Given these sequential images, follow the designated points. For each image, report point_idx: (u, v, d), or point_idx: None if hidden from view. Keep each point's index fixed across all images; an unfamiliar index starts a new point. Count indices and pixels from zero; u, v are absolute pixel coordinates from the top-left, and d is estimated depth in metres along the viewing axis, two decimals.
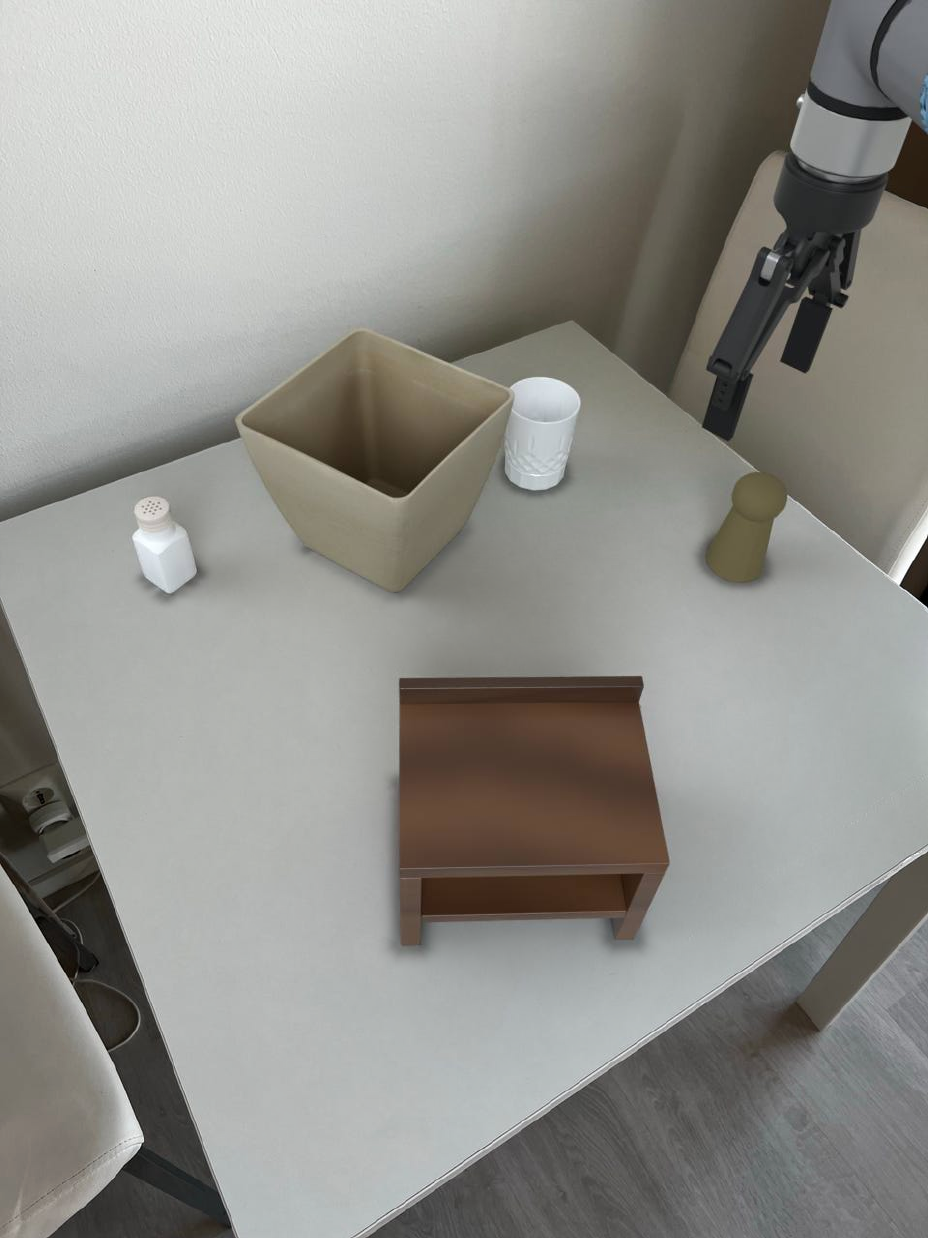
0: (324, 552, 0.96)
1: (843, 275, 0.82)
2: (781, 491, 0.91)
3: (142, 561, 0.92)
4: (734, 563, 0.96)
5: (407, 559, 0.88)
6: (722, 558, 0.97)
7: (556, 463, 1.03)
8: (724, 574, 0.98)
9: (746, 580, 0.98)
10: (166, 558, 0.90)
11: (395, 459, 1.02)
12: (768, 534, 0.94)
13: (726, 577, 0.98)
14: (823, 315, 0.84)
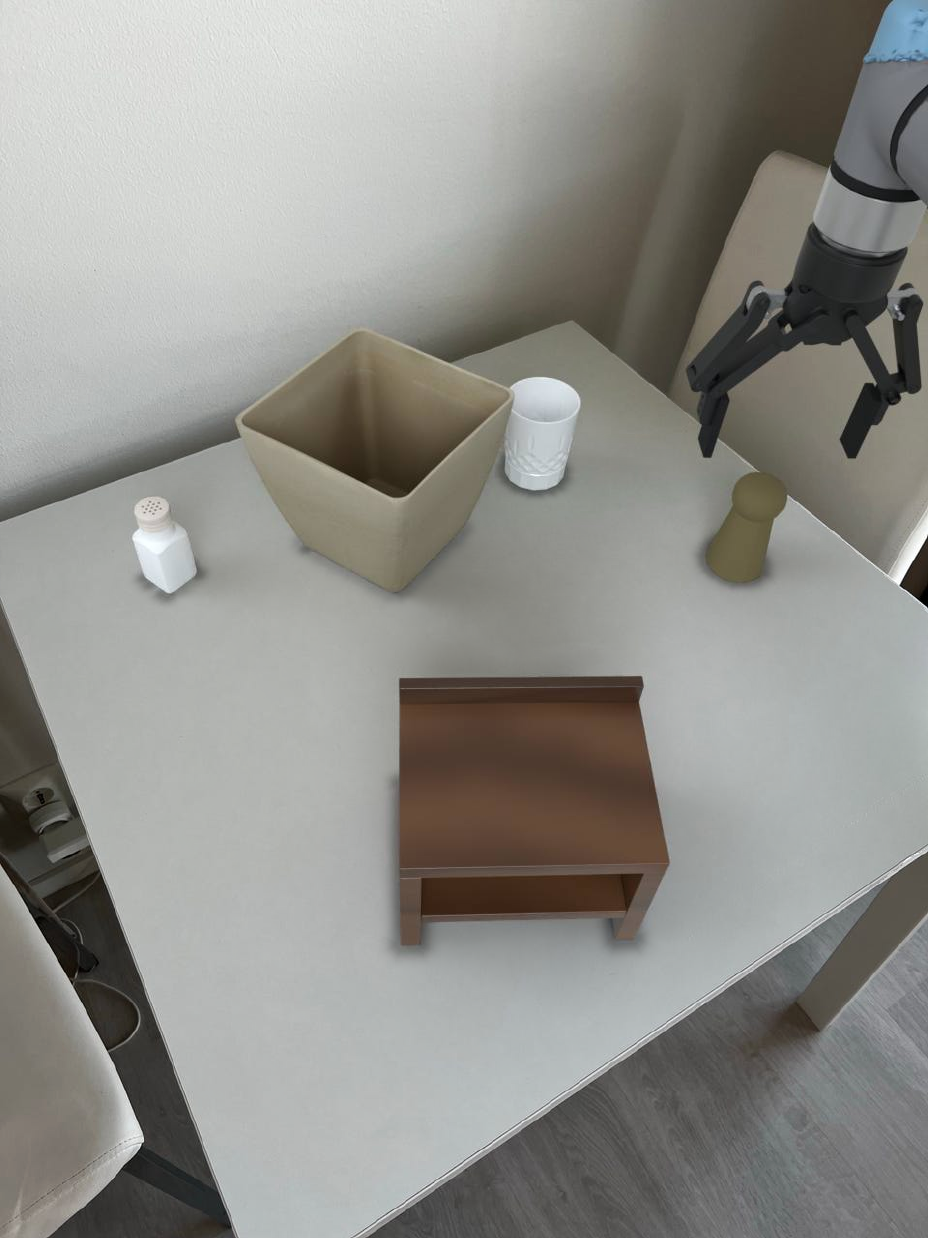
0: (324, 552, 0.96)
1: (904, 374, 0.81)
2: (781, 491, 0.91)
3: (142, 561, 0.92)
4: (734, 563, 0.96)
5: (407, 559, 0.88)
6: (722, 558, 0.97)
7: (556, 463, 1.03)
8: (724, 574, 0.98)
9: (746, 580, 0.98)
10: (166, 558, 0.90)
11: (395, 459, 1.02)
12: (768, 534, 0.94)
13: (726, 577, 0.98)
14: (870, 404, 0.83)
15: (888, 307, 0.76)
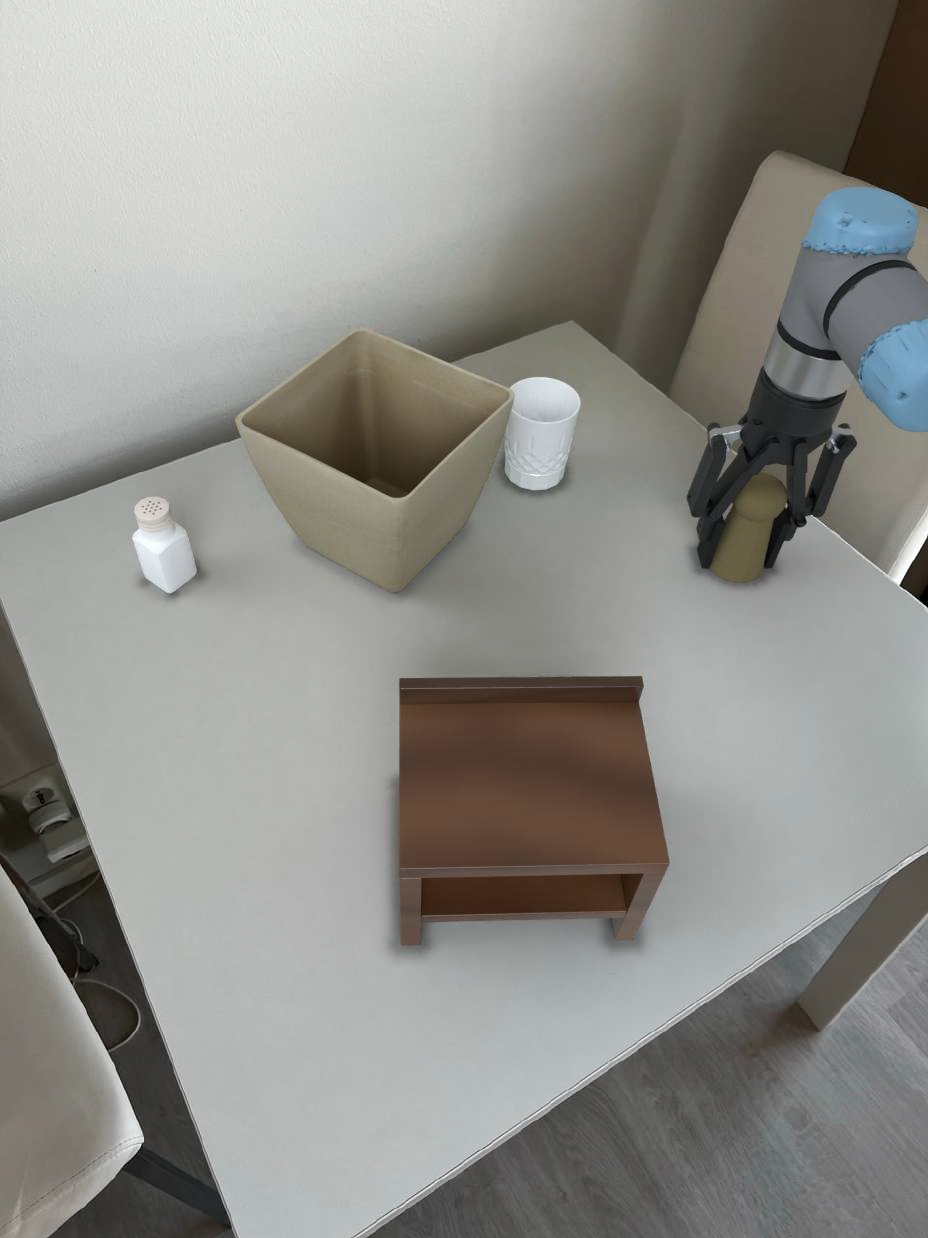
0: (324, 552, 0.96)
1: (815, 499, 0.92)
2: (781, 491, 0.91)
3: (142, 561, 0.92)
4: (734, 563, 0.96)
5: (407, 559, 0.88)
6: (722, 558, 0.97)
7: (556, 463, 1.03)
8: (724, 574, 0.98)
9: (746, 580, 0.98)
10: (166, 558, 0.90)
11: (395, 459, 1.02)
12: (768, 534, 0.94)
13: (726, 577, 0.98)
14: (781, 525, 0.94)
15: (828, 439, 0.87)
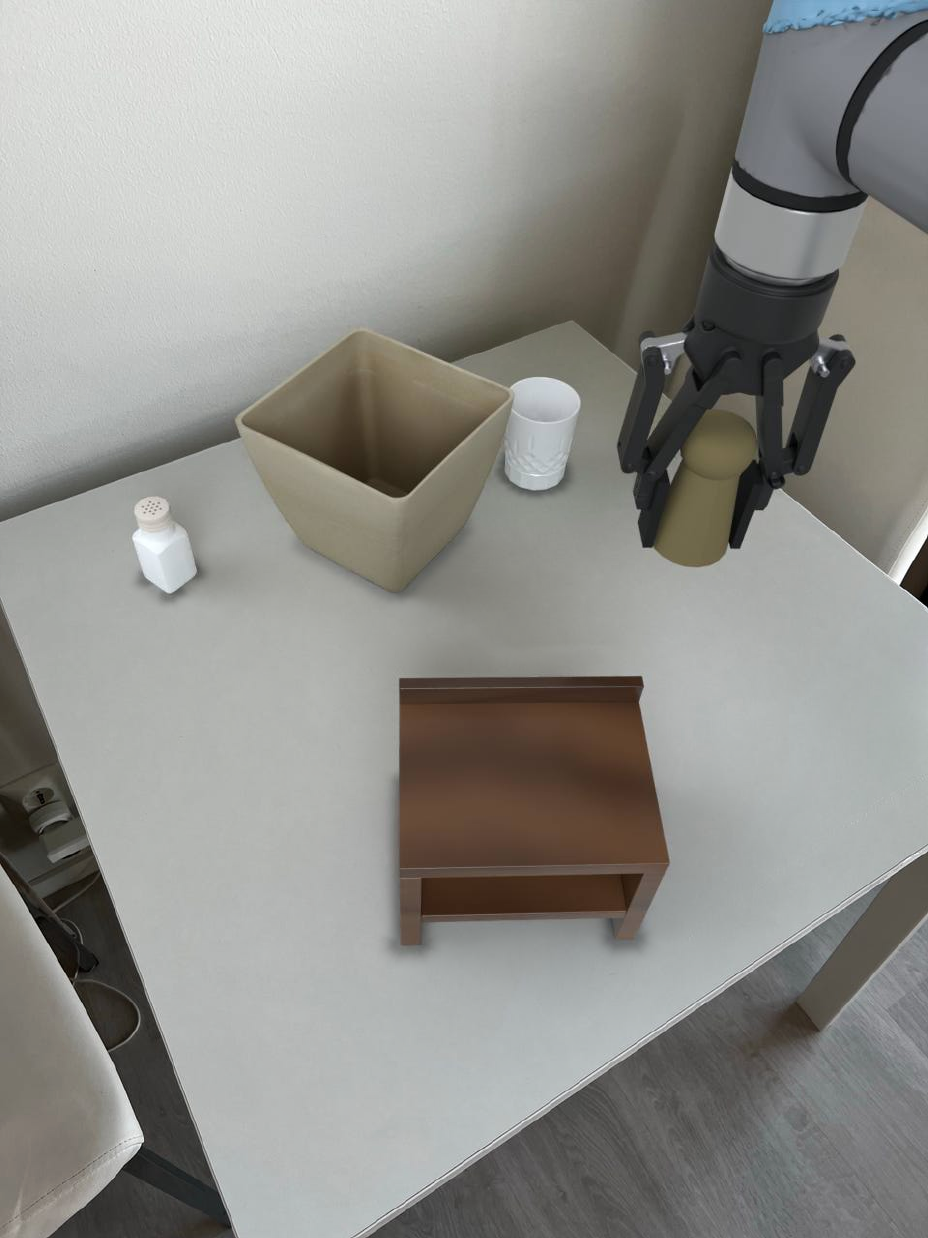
0: (324, 552, 0.96)
1: (797, 448, 0.65)
2: (747, 435, 0.64)
3: (142, 561, 0.92)
4: (686, 539, 0.69)
5: (407, 559, 0.88)
6: (669, 533, 0.70)
7: (556, 463, 1.03)
8: (672, 556, 0.71)
9: (703, 564, 0.71)
10: (166, 558, 0.90)
11: (395, 459, 1.02)
12: (731, 498, 0.67)
13: (675, 559, 0.71)
14: (750, 486, 0.67)
15: (814, 355, 0.60)
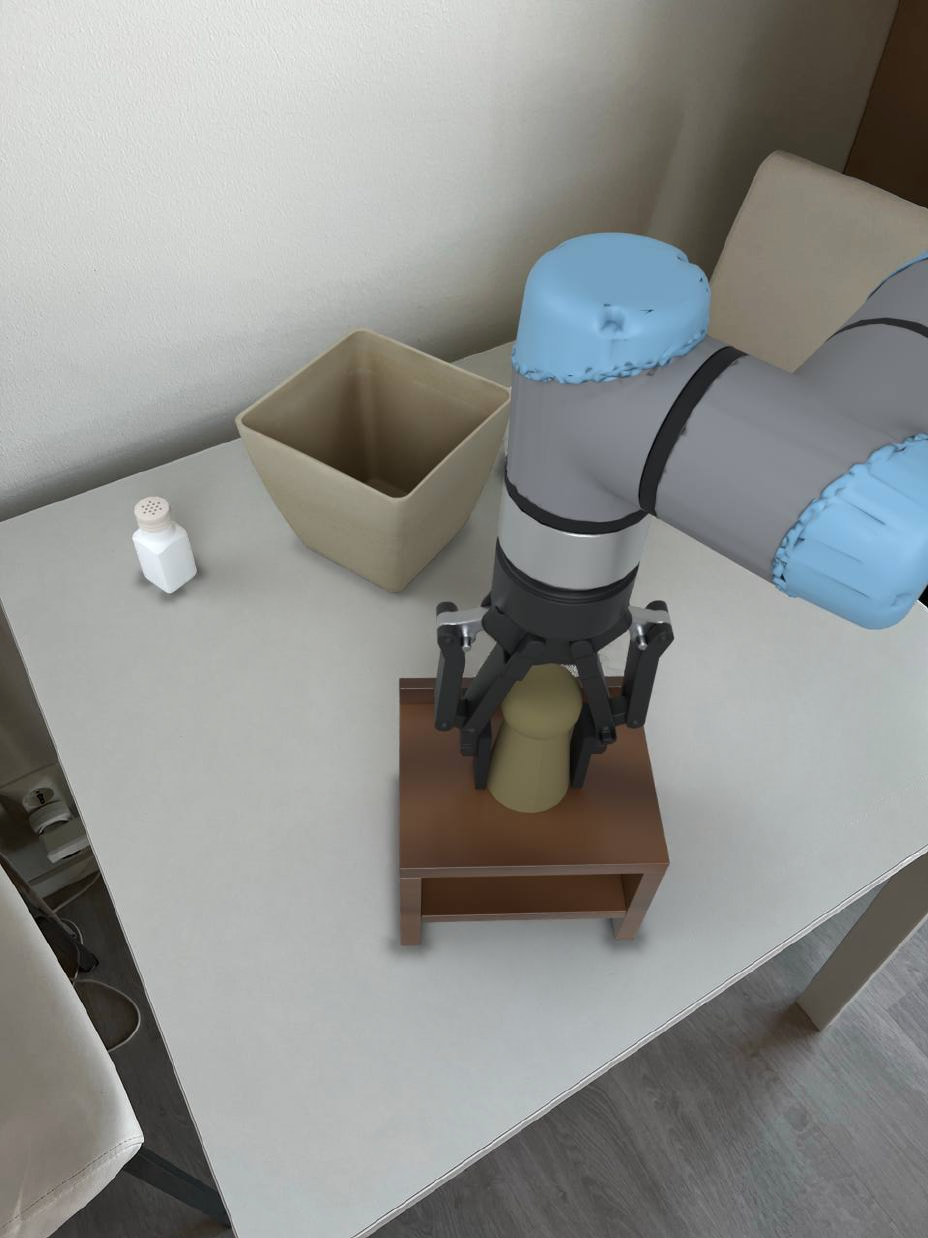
0: (324, 552, 0.96)
1: (627, 705, 0.59)
2: (569, 697, 0.58)
3: (142, 561, 0.92)
4: (516, 789, 0.63)
5: (407, 559, 0.88)
6: (499, 779, 0.64)
7: None
8: (505, 801, 0.65)
9: (538, 810, 0.65)
10: (166, 558, 0.90)
11: (395, 459, 1.02)
12: (561, 751, 0.61)
13: (508, 805, 0.65)
14: (582, 737, 0.62)
15: (630, 628, 0.54)
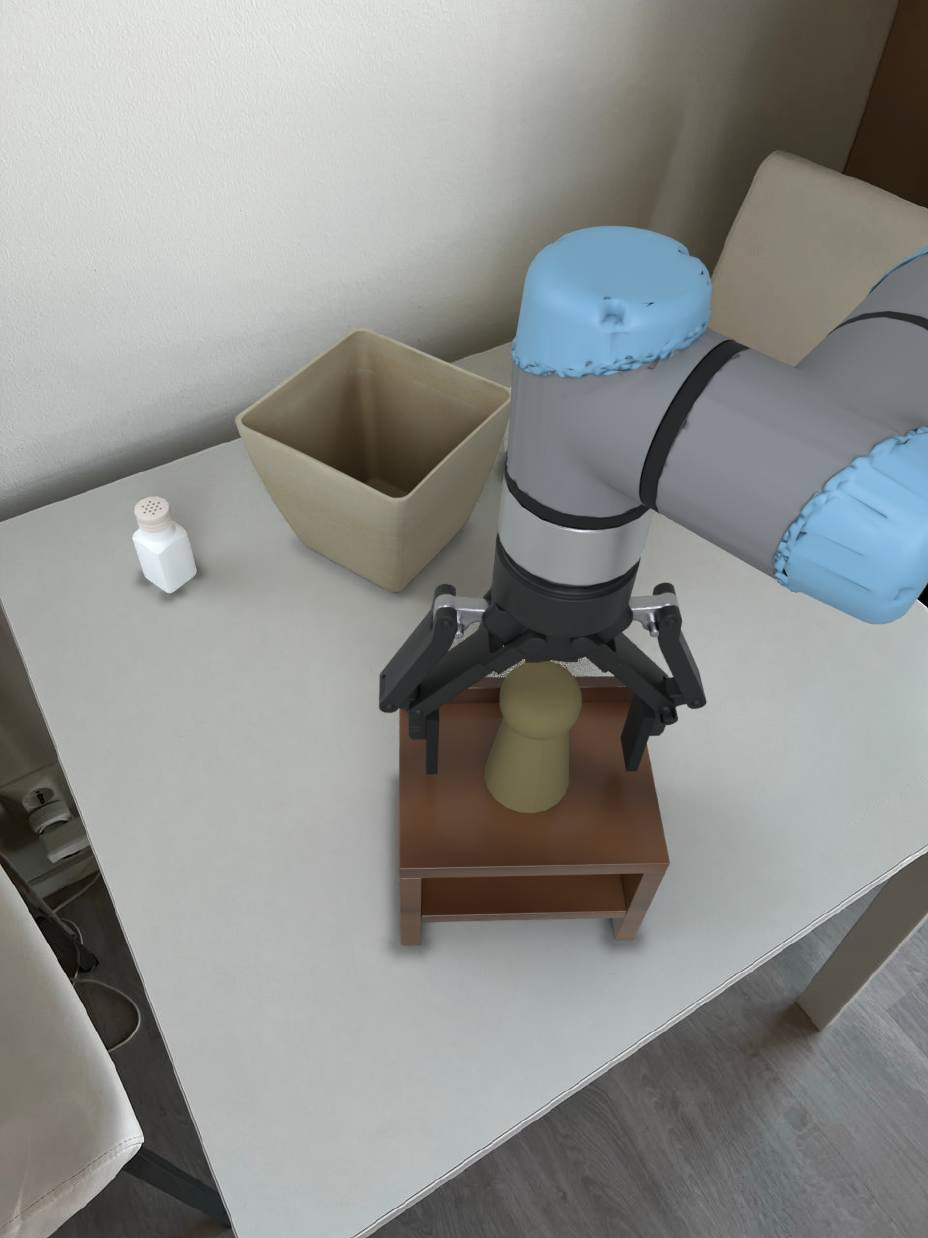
0: (324, 552, 0.96)
1: None
2: (568, 697, 0.58)
3: (142, 561, 0.92)
4: (516, 789, 0.63)
5: (407, 559, 0.88)
6: (499, 779, 0.64)
7: None
8: (505, 801, 0.65)
9: (538, 810, 0.65)
10: (166, 558, 0.90)
11: (395, 459, 1.02)
12: (561, 751, 0.61)
13: (508, 805, 0.65)
14: (641, 718, 0.60)
15: (636, 619, 0.53)
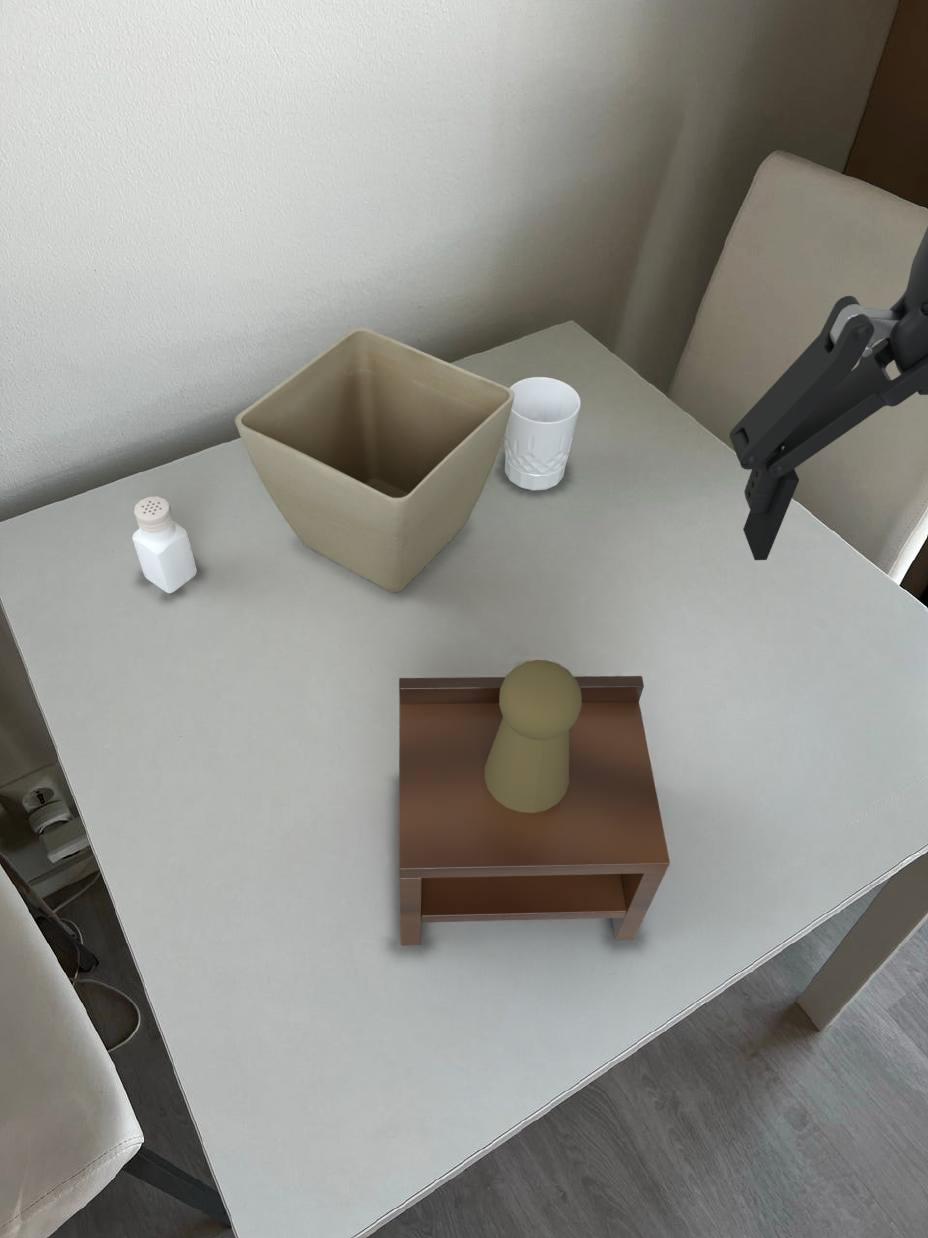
0: (324, 552, 0.96)
1: None
2: (568, 697, 0.58)
3: (142, 561, 0.92)
4: (516, 789, 0.63)
5: (407, 559, 0.88)
6: (499, 779, 0.64)
7: (556, 463, 1.03)
8: (505, 801, 0.65)
9: (538, 810, 0.65)
10: (166, 558, 0.90)
11: (395, 459, 1.02)
12: (561, 751, 0.61)
13: (508, 805, 0.65)
14: None
15: None
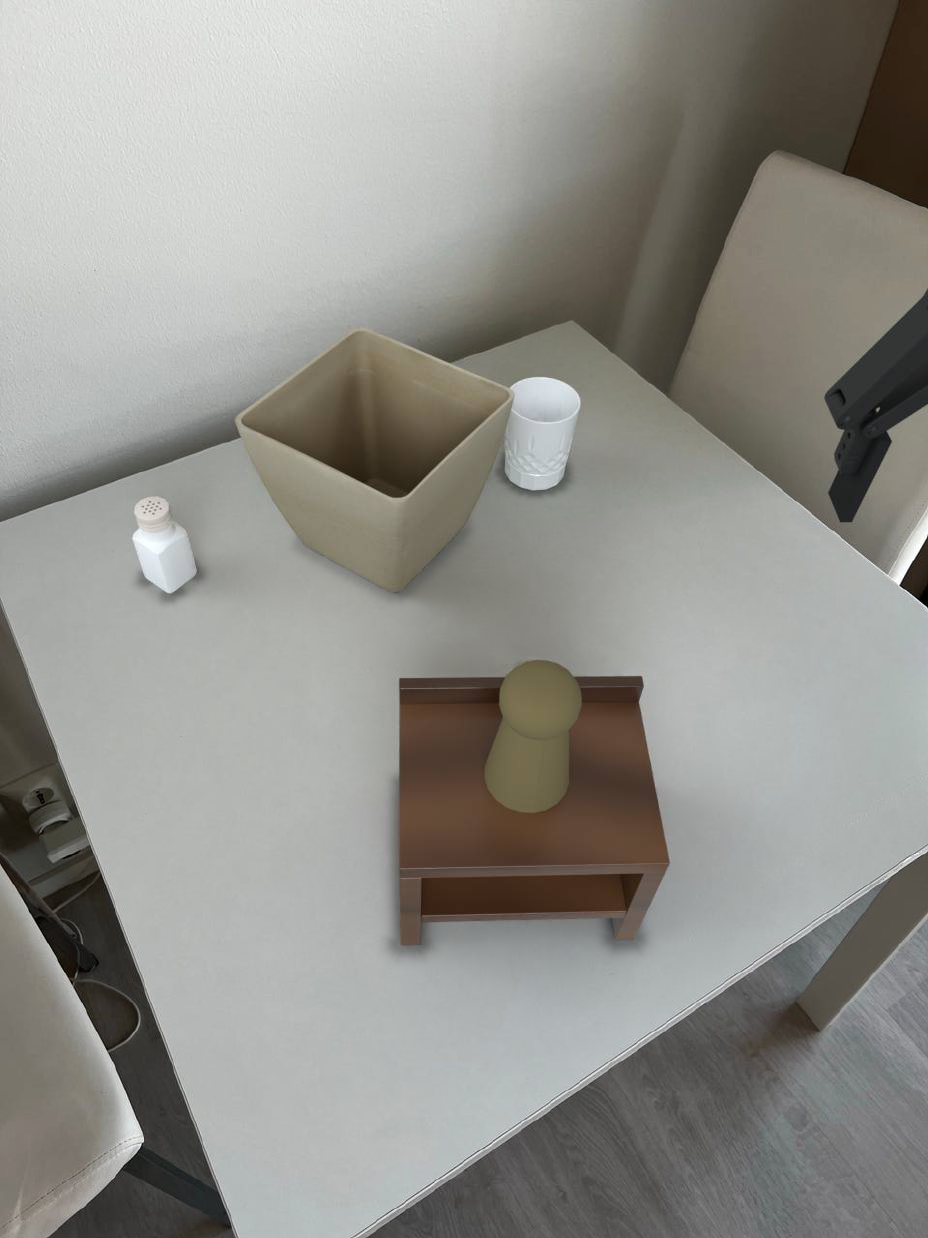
0: (324, 552, 0.96)
1: None
2: (568, 697, 0.58)
3: (142, 561, 0.92)
4: (516, 789, 0.63)
5: (407, 559, 0.88)
6: (499, 779, 0.64)
7: (556, 463, 1.03)
8: (505, 801, 0.65)
9: (538, 810, 0.65)
10: (166, 558, 0.90)
11: (395, 459, 1.02)
12: (560, 751, 0.61)
13: (508, 805, 0.65)
14: None
15: None
